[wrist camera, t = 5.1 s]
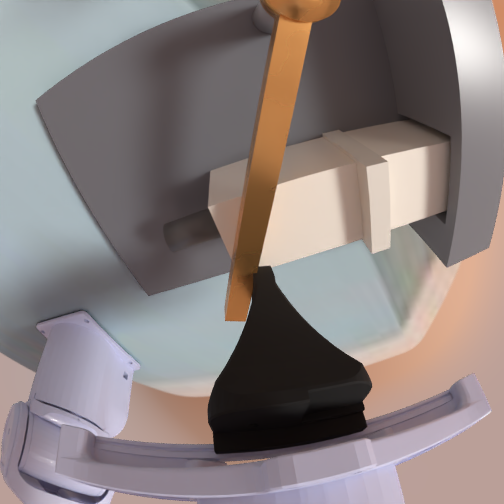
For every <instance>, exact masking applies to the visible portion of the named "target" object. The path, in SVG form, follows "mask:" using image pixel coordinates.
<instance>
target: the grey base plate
mask: <svg viewBox="0 0 504 504" xmlns="http://www.w3.org/2000/svg"><path fill="white" fill-rule="evenodd" d="M274 20H275V19H274V18H273V17H271V16H270V15H269V14H268V13H267V12H266V11H265V10H264V8H263V7H262V5H261V3H260V0H232V1H228V2H224V3H221V4H217V5H214V6H210V7H207V8H204V9H201V10H198V11H195V12H192V13H189V14H186V15H183V16H181V17H178V18H175V19H173V20H170V21H168V22H165V23H163V24H160V25H158V26H156V27H153V28H151V29H149V30H147V31H145V32H142V33H140V34H138V35H136V36H134V37H132V38H130V39H128V40H126V41H124V42H122V43H120V44H119V45H117V46H115V47H113V48H111V49H109V50H108V51H106V52H104V53H102V54H101V55H99V56H97V57H96V58H94V59H92V60H91V61H89V62H88V63H86V64H85V65H83V66H81V67H80V68H78V69H77V70H75V71H74V72H72V73H71V74H70V75H68V76H67V77H65V78H64V79H63V80H61V81H60V82H58V83H57V84H56V85H54V86H53V87H52V88H51V89H49V90H48V91H47V92H45V93H44V94H43V95H42V96H40V97H39V98H38V99H37V100H36V103H37V105H38V108H39V110H40V113H41V115H42V117H43V120H44V122H45V124H46V126H47V129H48V131H49V133H50V135H51V137H52V139H53V141H54V144H55V146H56V148H57V150H58V152H59V154H60V156H61V158H62V160H63V162H64V164H65V166H66V167H67V169H68V171H69V173H70V175H71V177H72V179H73V181H74V182H75V184H76V186H77V188H78V190H79V191H80V193H81V195H82V197H83V198H84V200H85V202H86V203H87V205H88V207H89V209H90V210H91V212H92V214H93V215H94V217H95V218H96V220H97V222H98V223H99V225H100V227H101V228H102V230H103V231H104V233H105V234H106V236H107V237H108V239H109V241H110V242H111V244H112V245H113V247H114V248H115V250H116V251H117V253H118V254H119V256H120V257H121V259H122V260H123V261H124V263H125V264H126V266H127V267H128V269H129V270H130V271H131V273H132V274H133V276H134V277H135V278H136V280H137V281H138V283H139V284H140V285H141V287H142V288H143V289H144V291H145V292H146V293H147V295H148V296H150V295H153V294H157V293H160V292H164V291H167V290H171V289H174V288H177V287H181V286H184V285H188V284H191V283H194V282H198V281H201V280H205V279H208V278H211V277H215V276H218V275H221V274H225V273H228V272H230V267H231V261H232V260H231V258H230V255H229V253H228V251H227V249H226V246H225V244H224V242H223V240H222V238H217V239H214V240H211V241H208V242H205V243H202V244H199V245H196V246H193V247H190V248H187V249H184V250H181V251H178V252H175V253H173V252H172V251H171V250H170V249H169V247H168V246H167V244H166V241H165V238H164V234H163V226H164V224H165V223H168V222H171V221H174V220H176V219H179V218H182V217H185V216H187V215H190V214H193V213H196V212H199V211H202V210H204V209H207V208H208V198H209V183H210V171H211V170H214V169H217V168H220V167H223V166H226V165H229V164H232V163H235V162H238V161H241V160H244V159H247V158H248V157H249V152H250V146H251V140H252V135H253V129H254V124H255V118H256V113H257V107H258V102H259V96H260V91H261V86H262V80H263V75H264V70H265V65H266V60H267V55H268V50H269V45H270V40H271V35H272V30H273V25H274ZM410 119H413V120H416V121H418V122H420V123H423V124H425V125H427V126H429V127H432V128H434V129H436V130H438V131H440V132H442V133H445V134H447V135H449V136H451V158H450V182H449V196H448V206H447V211H444V212H441V213H438V214H435V215H432V216H429V217H426V218H424V219H421V220H418V221H415V222H412V223H409V225H410V226H411V227H412V228H413V229H414V230H415V231H416V232H417V234H418V235H419V236H420V237H421V238H422V239H423V240H424V241H425V243H426V244H427V245H428V246H429V247H430V248H431V249H432V251H433V252H434V253H435V254H436V255H437V256H438V258H439V259H440V260H441V261H442V262H443V264H444V265H445V266H446V267H449V266H451V265H454V264H456V263H458V262H460V261H462V260H464V259H467V258H469V257H471V256H473V255H475V254H477V253H479V252H481V251H483V250H485V249H487V248H489V245H490V242H491V238H492V234H493V230H494V226H495V222H496V217H497V213H498V207H499V203H500V197H501V191H502V185H503V177H504V56H503V49H502V43H501V38H500V33H499V28H498V23H497V19H496V15H495V11H494V8H493V4H492V1H491V0H341V2H340V5H339V7H338V9H337V10H336V11H335V12H334V13H333V14H332V15H331V16H329V17H327V18H325V19H322V20H320V21H318V22H315V23H313V24H312V25H311V30H310V35H309V40H308V45H307V49H306V54H305V59H304V64H303V68H302V73H301V78H300V83H299V87H298V92H297V97H296V101H295V106H294V111H293V115H292V120H291V124H290V129H289V134H288V138H287V143H286V147H287V146H291V145H294V144H298V143H302V142H305V141H309V140H313V139H317V138H321V137H323V135H322V134H323V133H327V132H331V131H336V130H340V131H342V132H347V131H351V130H356V129H360V128H365V127H370V126H375V125H381V124H386V123H392V122H397V121H403V120H410Z"/></svg>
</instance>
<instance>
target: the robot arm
mask: <svg viewBox="0 0 504 504" xmlns="http://www.w3.org/2000/svg"><path fill="white" fill-rule="evenodd" d="M36 328H37V329H38V330H39V331H40V332H41V333H42V334H43V335H44V336H45V337H46V338H47V339H48V340H47V342H46V345H45V348H44V351H43V353H42V356H41V359H40V362H39V365H38V368H37V371H36V375H35V378H34V381H33V385H32V388H31V392H30V396H29V399H28V402H26V403H24V402H22V401H20V402H18V403H15V404H13V405H12V407H11V409H10V411H9V414H8V417H7V420H6V424H5V428H4V433H3V439H2V450H1V451H2V455H1V461H0V468H1V473H2V475H3V478H4V481H5V483H6V484H7V485H8V487H9V488H10V489H11V490H12V491H13V492H14V493H15V495H16V496H17V497H18V498H19V499H20V500H21V501H22V503H23V504H110V503H111V500H112V497H113V495H114V493H115V492H120V493H125V494H130V495H136V496H143V497H150V498H158V499H167V500H179V501H197V504H405V501H404V498H403V493H402V490H401V486H400V482H399V479H398V475H397V471H396V468H395V466H396V465H399V464H401V463H403V462H405V461H408V460H410V459H412V458H414V457H416V456H419V455H421V454H423V453H425V452H427V451H429V450H430V449H433V448H435V447H437V446H439V445H441V444H442V443H444V442H446V441H448V440H450V439H451V438H453V437H455V436H457V435H458V434H460V433H462V432H463V431H465V430H466V429H468V428H469V427H471V426H472V425H474V424H475V423H476V422H478V421H480V420H481V419H482V418H484V417H485V416H486V415H488V414H489V413H490V412H491V411H492V410H491V408H490V405H489V403H488V401H487V399H486V397H485V394H484V392H483V390H482V388H481V386H480V384H479V382H478V380H477V378H476V376H475V374H474V373H472V374H470V375H468V376H466V377H464V378H462V379H460V380H459V381H457V382H456V383H455V384H453V385H452V386H451V388H450V389H449V390H447V391H444V392H442V393H440V394H438V395H436V396H433V397H431V398H428V399H426V400H424V401H421V402H419V403H416V404H413V405H411V406H408V407H406V408H403V409H400V410H397V411H394V412H391V413H389V414H386V415H383V416H379V417H376V418H373V419H369V420H365V417H364V414H363V411H364V409H365V408H364V404H363V400H364V399H365V397H366V396H367V395H368V394H369V392H370V390H371V388H372V383H371V380H370V378H369V375H368V373H367V371H366V370H365V368H364V366H363V364H362V363H360V362H359V361H357V360H355V359H354V358H352V357H350V356H349V355H347V354H345V353H344V352H342V351H341V350H340V349H338V348H337V347H335V346H334V345H333V344H332V343H330V342H329V341H328V340H327V339H325V338H324V337H323V336H322V335H320V334H319V333H318V332H317V331H316V330H315V329H314V328H313V327H312V326H311V325H310V324H309V323H308V322H307V321H306V320H305V319H304V318H303V317H302V316H301V315H300V314H299V313H298V312H297V311H296V309H295V308H294V307H293V306H292V305H291V303H290V302H289V301H288V300H287V298H286V297H285V295H284V294H283V293H282V291H281V290H280V289H279V287H278V286H277V284H276V282H275V276H274V273H273V271H272V268H271V266H258V271H257V273H253V292H252V304H251V307H250V311H249V315H248V318H247V321H246V324H245V326H244V329H243V332H242V334H241V336H240V339H239V341H238V343H237V345H236V347H235V350H234V351H233V353H232V355H231V357H230V359H229V361H228V362H227V364H226V366H225V368H224V369H223V371H222V372H221V374H220V375H219V377H218V378H217V380H216V381H215V384H214V387H213V390H212V393H211V396H210V400H209V404H208V423H209V425H210V427H211V429H212V431H213V441H214V444H197V445H195V444H164V443H149V442H137V441H129V440H121V439H114V438H112V437H114V436H116V435H117V434H119V433H120V432H121V431H122V429H123V427H124V425H125V424H126V421H127V418H128V412H129V403H130V393H131V386H132V379H133V372H134V370H139V369H140V364H139V363H138V362H137V361H136V360H134V359H133V358H132V357H131V356H130V355H129V354H128V353H127V352H126V351H125V350H124V349H122V348H121V347H120V346H119V345H118V344H117V343H116V342H115V341H114V340H113V339H112V338H111V337H110V336H109V335H108V334H107V333H106V332H105V331H104V330H103V329H102V328H101V327H100V326H99V325H98V324H97V323H96V322H95V321H94V319H93V318H92V317H91V316H90V315H89V314H88V313H87V312H85V311H79V312H75V313H72V314H68V315H65V316H61V317H58V318H55V319H51V320H48V321H44V322H41V323H38V324H37V326H36ZM264 458H270V459H267V460H264V461H257V462H251V463H244V464H235V465H227V464H226V463H225V461H242V460H254V459H264Z"/></svg>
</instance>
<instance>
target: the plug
mask: <svg viewBox="0 0 504 504" xmlns="http://www.w3.org/2000/svg"><path fill="white" fill-rule="evenodd" d="M322 135H323V137H321V138H317V139H313V140H309V141H305V142H302V143H298V144H294V145H291V146H287V147H285V152H284V156H283V161H282V165H281V170H280V174H279V179H278V183H277V188H276V192H275V197H274V201H273V205H272V210H271V214H270V219H269V223H268V227H267V232H266V236H265V240H264V245H263V249H262V254H261V258H260V262H259V266H271V267H274V266H278V265H281V264H284V263H287V262H291V261H294V260H297V259H300V258H304V257H307V256H310V255H313V254H316V253H320V252H323V251H326V250H329V249H332V248H335V247H339V246H342V245H345V244H348V243H351V242H354V241H357V240H360V239H362V240H363V242H364V243H365V244H366V246H367V247H368V249H369V250H370V252H371V253H372V254H373V253H376V252H379V251H382V250H385V249H388V248H390V230H391V229H394V228H397V227H400V226H403V225H406V224H409V223H412V222H415V221H418V220H421V219H424V218H426V217H429V216H432V215H435V214H438V213H441V212H444V211H447V206H448V196H449V182H450V158H451V136H449V135H447V134H445V133H442V132H440V131H438V130H436V129H434V128H432V127H429V126H427V125H425V124H423V123H420V122H418V121H416V120H413V119H410V120H403V121H397V122H392V123H386V124H381V125H375V126H370V127H365V128H360V129H356V130H351V131H347V132H342V131H340V130H336V131H331V132H327V133H323V134H322ZM247 163H248V158H247V159H244V160H241V161H238V162H235V163H232V164H229V165H226V166H223V167H220V168H217V169H214V170H211V171H210V183H209V198H208V208H207V209H204V210H202V211H199V212H196V213H193V214H190V215H187V216H185V217H182V218H179V219H176V220H174V221H171V222H168V223H165V224H164V226H163V234H164V238H165V241H166V244H167V246H168V247H169V249H170V250H171V251H172V252H173V253H175V252H178V251H181V250H184V249H187V248H190V247H193V246H196V245H199V244H202V243H205V242H208V241H211V240H214V239H217V238H222V240H223V242H224V244H225V246H226V249H227V251H228V253H229V255H230V258H231V260H232V254H233V248H234V242H235V235H236V229H237V223H238V217H239V211H240V204H241V198H242V192H243V186H244V181H245V175H246V169H247Z"/></svg>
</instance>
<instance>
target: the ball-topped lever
mask: <svg viewBox="0 0 504 504" xmlns="http://www.w3.org/2000/svg"><path fill="white" fill-rule="evenodd" d="M340 2H341V0H260V3H261V5H262V7H263V8H264V10H265V11H266V12H267V13H268V14H269V15H270V16H271V17H273V18H274V19H275V20H274V25H273V30H272V35H271V40H270V45H269V50H268V55H267V60H266V65H265V70H264V75H263V80H262V86H261V91H260V96H259V102H258V107H257V113H256V118H255V124H254V129H253V135H252V140H251V146H250V152H249V157H248V163H247V169H246V175H245V181H244V186H243V192H242V198H241V204H240V211H239V217H238V223H237V229H236V235H235V242H234V248H233V254H232V261H231V267H230V274H229V280H228V287H227V294H226V300H225V321H246V318H247V313H248V309H249V305H250V301H251V296H252V292H253V273H257V271H258V266H259V262H260V258H261V254H262V249H263V245H264V240H265V236H266V232H267V227H268V223H269V219H270V214H271V210H272V205H273V201H274V197H275V192H276V188H277V183H278V179H279V174H280V170H281V165H282V161H283V156H284V152H285V147H286V143H287V138H288V134H289V129H290V124H291V120H292V115H293V111H294V106H295V101H296V97H297V92H298V87H299V83H300V78H301V73H302V68H303V64H304V59H305V54H306V49H307V45H308V40H309V35H310V30H311V25H312V24H313V23H315V22H318V21H320V20H322V19H325V18H327V17H329V16H331V15H332V14H333V13H334V12H335V11H336V10H337V9H338V7H339V5H340Z"/></svg>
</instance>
